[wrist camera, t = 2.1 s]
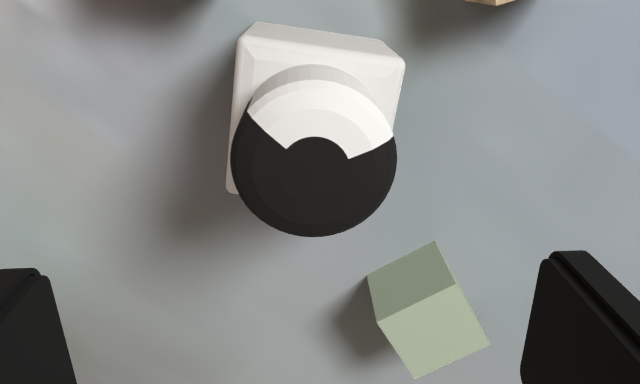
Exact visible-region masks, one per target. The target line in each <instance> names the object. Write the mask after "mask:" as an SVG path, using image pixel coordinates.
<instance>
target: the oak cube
mask: <svg viewBox="0 0 640 384" xmlns="http://www.w3.org/2000/svg"><path fill="white" fill-rule="evenodd" d="M463 1H469V2H476V3H482V4H488V5H494V6H497V5H501V4H504V3H508V2H511V1H514V0H463Z"/></svg>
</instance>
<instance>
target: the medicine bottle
mask: <svg viewBox="0 0 640 384" xmlns="http://www.w3.org/2000/svg"><path fill="white" fill-rule="evenodd" d="M404 72H405V62H404V60H403V59H402V58H401V57H400V56H398V55H397V54H396V53H395V52H394V51H393V50H391V49H390V48H389V47H388V46H387V45H386V44H384V43H383V42H382V41H381V40H378V39H373V38H366V37H360V36H353V35H346V34H339V33H333V32H326V31H319V30H313V29H306V28H299V27H292V26H286V25H279V24H272V23H266V22H255V23H253V24H252V25H251V26H250V27H249V28H248V29H247V30H246V31H245V32H244V33H243V34H242V35H241V36H240V37H239V38H238V41H237V46H236V59H235V72H234V85H233V97H232V110H231V123H230V136H229V149H228V161H227V174H226V189H227V191H228V192H229V193H232V194H238V195H240V197H241V198H242V200H243V201H244V203H245V204H246V206H247V207H248V208H249V209H250V210H251V211H252V212H253V213H254V214H255V215H256V216H257V217H258V218H259V219H261V220H262V221H264V222H265V223H267V224H268V225H270V226H271V227H274V228H276V229H278V230H280V231H283V232H286V233H288V234H292V235H297V236H305V237H323V236H329V235H334V234H337V233H341V232H344V231H346V230H348V229H351V228H353V227H355V226H356V225H358V224H360V223H361V222H363V221H364V220H365V219H367V218H368V217H369V216H370V215H372V214H373V212H374V211H375V210H376V209H377V208H378V207H379V206H380V205H381V203H382V202H383V201H384V199H385V198H386V196H387V194H388V192H389V190H390V188H391V185H392V183H393V180H394V176H395V172H396V164H397V151H396V144H395V140H394V135H393V133H392V129H393V124H394V120H395V115H396V110H397V105H398V100H399V96H400V91H401V86H402V81H403V76H404Z"/></svg>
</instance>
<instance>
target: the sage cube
mask: <svg viewBox="0 0 640 384" xmlns="http://www.w3.org/2000/svg"><path fill="white" fill-rule="evenodd" d="M367 279H368V284H369V289H370V294H371V298H372V303H373V308H374V312H375V317H376V322H377V324H378V325H379V327H380V328H381V330H382V331H383V333H384V334H385V336H386V337H387V339H388V340H389V342H390V343H391V345H392V346H393V348H394V349H395V351H396V352H397V353H398V355H399V356H400V358H401V359H402V361H403V362H404V364H405V365H406V367H407V368H408V370H409V371H410V373H411V374H412V376H413V377H414V379H417V378H419V377H421V376H423V375H426V374H428V373H430V372H432V371H434V370H436V369H439V368H441V367H443V366H445V365H447V364H450V363H452V362H454V361H456V360H458V359H460V358H463V357H465V356H467V355H469V354H471V353H474V352H476V351H478V350H480V349H482V348H484V347H487V346H489V345H490V343H489V341H488V339H487V337H486V335H485V333H484V331H483V329H482V327H481V325H480V323H479V321H478V319H477V317H476V315H475V313H474V311H473V309H472V307H471V305H470V303H469V301H468V299H467V297H466V295H465V294H464V292H463V290H462V288H461V286H460V285H459V283H458V281H457V279H456V278H455V276H454V274H453V272H452V271H451V269H450V267H449V265H448V264H447V262H446V260H445V258H444V256H443V255H442V253H441V251H440V249H439V248H438V246H437V244H436V242H435V241H433V242H432V243H430V244H428V245H426V246H424V247H422V248H420V249H418V250H416V251H414V252H412V253H410V254H408V255H406V256H404V257H402V258H400V259H398V260H396V261H394V262H392V263H390V264H388V265H386V266H384V267H382V268H380V269H378V270H376V271H374V272H372V273H371V274H369V275H367Z"/></svg>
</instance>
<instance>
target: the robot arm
mask: <svg viewBox="0 0 640 384" xmlns="http://www.w3.org/2000/svg"><path fill="white" fill-rule="evenodd" d="M520 375H521V380H522V383H523V384H640V301H639V300H638V299H637V298H635V297H634V296H633V295H632V294H631V293H630V292H629V291H628V290H627V289H626V288H625V287H624V286H623V285H622V284H621V283H620V282H619V281H618V280H617V279H616V278H615V277H613V276H612V275H611V274H610V273H609V272H608V271H607V270H606V269H605V268H604V267H603V266H602V265H601V264H600V263H599V262H598V261H597V260H596V259H595V258H594V257H592V256H591V255H590V254H589V253H588V252H586V251H582V250H580V251H554V252H553V253H551V255H550V256H549V258H548V259H544V260H543V261H542V262H541V264H540V268H539V273H538V278H537V283H536V289H535V294H534V299H533V304H532V309H531V314H530V319H529V324H528V330H527V335H526V340H525V345H524V350H523V355H522V360H521V365H520ZM0 384H77V382H76V378H75V375H74V371H73V367H72V363H71V359H70V356H69V352H68V348H67V344H66V340H65V336H64V333H63V329H62V325H61V321H60V317H59V313H58V310H57V306H56V302H55V298H54V294H53V291H52V287H51V283H50V280H49V278H48V277H47V276H45V275H40V273H39V271H38V270H37V269H35V268H16V269H0Z"/></svg>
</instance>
